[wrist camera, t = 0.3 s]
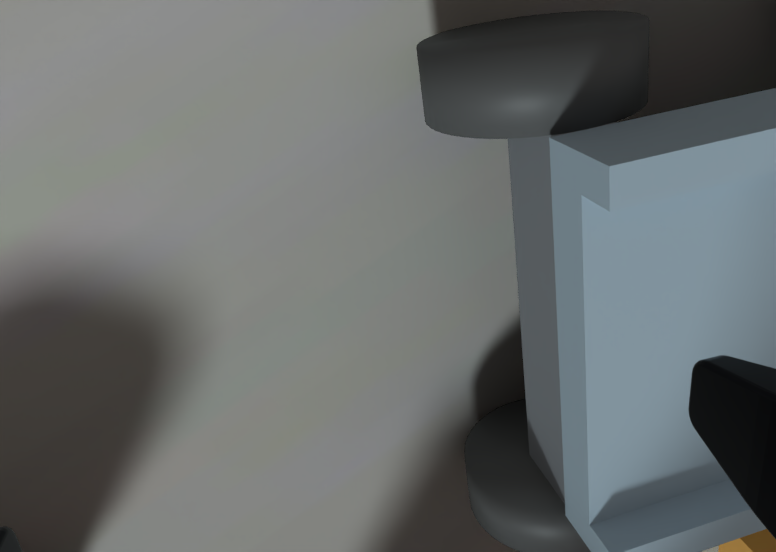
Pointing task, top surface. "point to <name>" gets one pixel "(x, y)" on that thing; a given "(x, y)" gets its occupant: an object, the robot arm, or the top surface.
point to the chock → (751, 543)
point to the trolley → (612, 280)
